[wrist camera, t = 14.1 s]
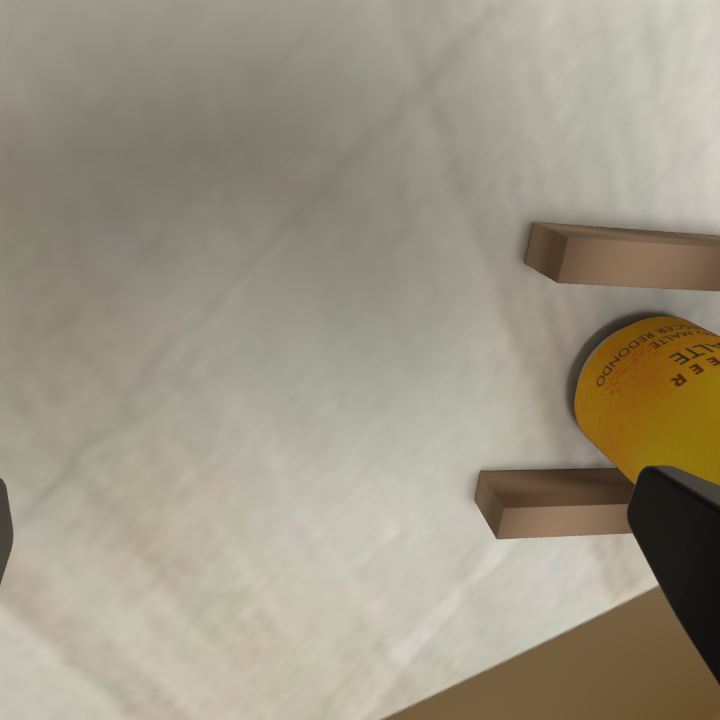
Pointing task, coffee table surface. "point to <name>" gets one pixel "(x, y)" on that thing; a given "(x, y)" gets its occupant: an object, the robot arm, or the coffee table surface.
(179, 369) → the coffee table surface
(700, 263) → the frame
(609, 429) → the beer can
